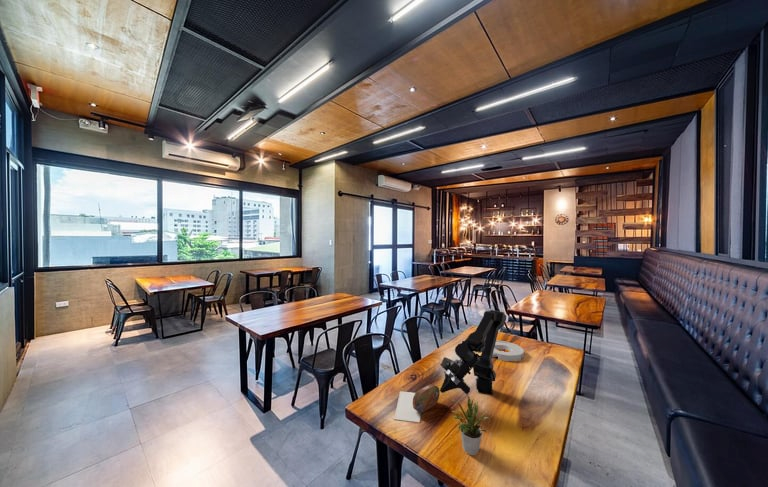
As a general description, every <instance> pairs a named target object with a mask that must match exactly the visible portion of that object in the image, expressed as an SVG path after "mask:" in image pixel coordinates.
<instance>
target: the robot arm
mask: <svg viewBox="0 0 768 487" xmlns="http://www.w3.org/2000/svg"><path fill="white" fill-rule="evenodd" d="M506 322H507V315H506V314H505V312H503V311H498V310H493V309H490V310H487V311H486V310H485V311H484V312H483V317H482V318H481V320H480V322H479V324H478V325H477V327H476V329H475V331H473V332H471V333H470V334H469V335H468V336H467V337H466V338H465V340H462V342H461V343H459V344H457V345H455V348H454V353H455V354H456V356H457V357H458V358H459V359H455V360H452V359H451V358H448V357H446V356H444V357H443V359H442V361H441V363H440V364H439V365H440V366H441V367H442V368H443V369H444V370H445V371H443V374H444V380H443V382H442V384H441V387H440V388H439V391H440V394H441V393H442V394H443V393H446V392H449V391H452V390H455V389H460V390H462V391H463V393H465V395H467V394H468V395H469V393H470V392H471V387H470V386H469V385H468V384H467V383H466V382H465V377H466V376H467V375H471V374H472V373H471V370H472V371H473V376H474V377H476V378H475V389H476V390H477V392H478V393H479V394H487V395H493V394H494V392H493V382H495V381H496V378H497V373H496V371H495V370H494V363H493V360H492V355H493V351H494V347H495V343H496V341H497V339H498V335H499V332H500V330H501V329H502V328H504V327H505V326H504V325H505V323H506ZM479 353H481V354H480V355H479ZM478 393H477V394H478Z"/></svg>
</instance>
